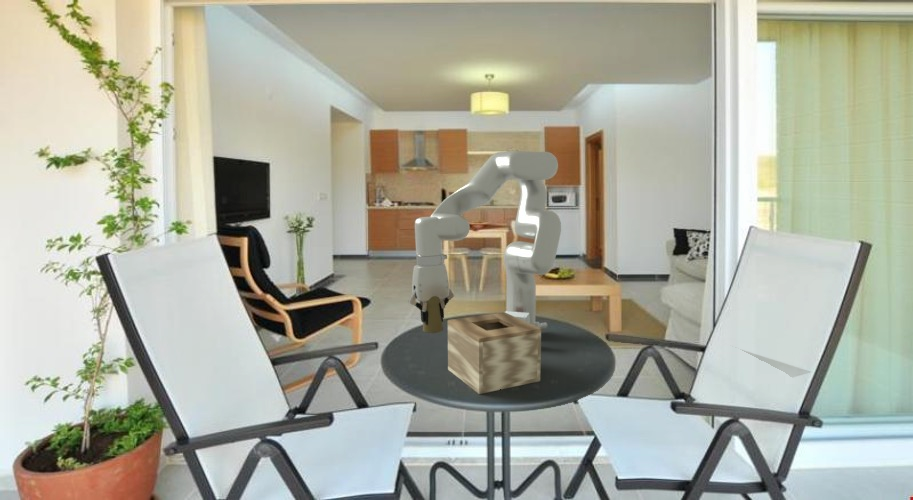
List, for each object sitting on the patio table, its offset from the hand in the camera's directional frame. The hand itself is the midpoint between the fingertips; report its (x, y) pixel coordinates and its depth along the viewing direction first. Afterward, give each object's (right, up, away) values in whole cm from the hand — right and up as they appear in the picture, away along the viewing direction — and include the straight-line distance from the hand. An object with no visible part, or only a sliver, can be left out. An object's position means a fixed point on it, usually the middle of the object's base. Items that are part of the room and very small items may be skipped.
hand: (432, 321), depth 147 cm
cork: (0, -3, 0) cm, 3 cm away
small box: (+25, -10, +11) cm, 29 cm away
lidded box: (+17, -13, -12) cm, 24 cm away
